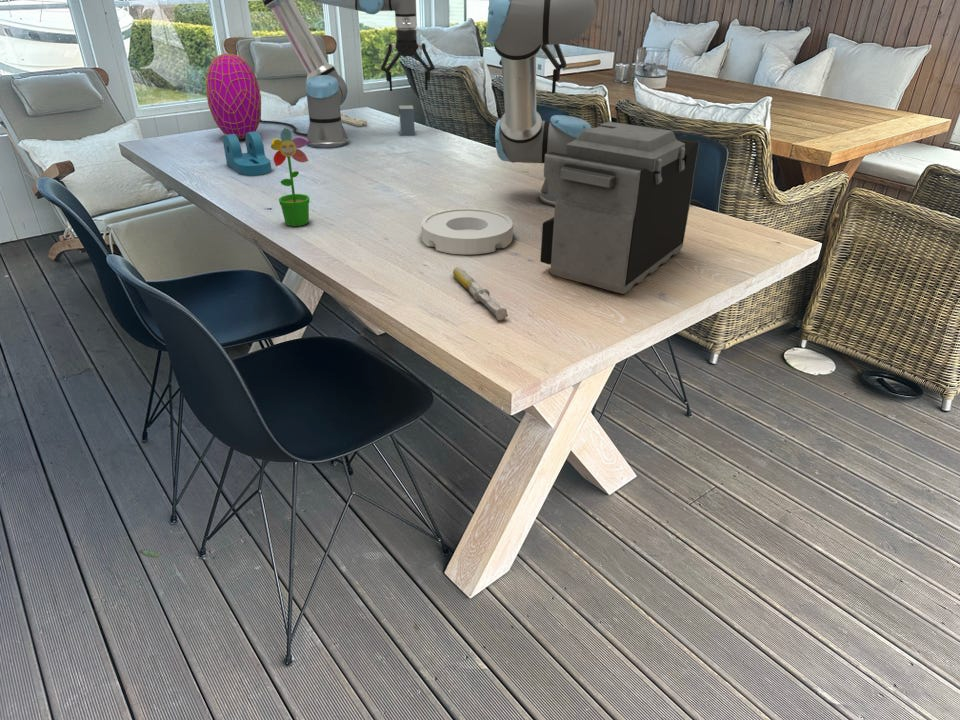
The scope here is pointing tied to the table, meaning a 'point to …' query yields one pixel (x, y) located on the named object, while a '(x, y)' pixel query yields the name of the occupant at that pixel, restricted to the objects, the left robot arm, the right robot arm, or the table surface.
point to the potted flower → (291, 178)
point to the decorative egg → (233, 95)
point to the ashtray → (467, 231)
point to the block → (406, 120)
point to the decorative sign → (352, 120)
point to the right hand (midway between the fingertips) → (531, 91)
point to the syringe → (479, 293)
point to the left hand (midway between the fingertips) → (408, 90)
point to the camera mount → (246, 154)
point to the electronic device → (618, 204)
